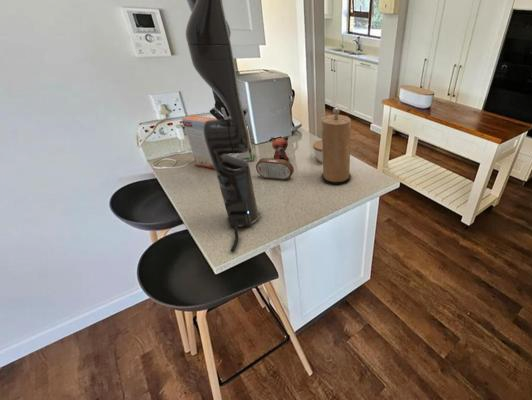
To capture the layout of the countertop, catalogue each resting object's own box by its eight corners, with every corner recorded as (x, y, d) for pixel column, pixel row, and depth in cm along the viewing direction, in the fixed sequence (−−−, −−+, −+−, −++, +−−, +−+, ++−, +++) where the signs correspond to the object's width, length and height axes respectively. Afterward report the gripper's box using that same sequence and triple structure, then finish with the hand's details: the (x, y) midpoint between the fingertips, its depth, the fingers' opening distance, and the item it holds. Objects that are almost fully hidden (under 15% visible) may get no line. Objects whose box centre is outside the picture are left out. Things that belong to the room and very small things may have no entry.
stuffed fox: (287, 153, 135) (285, 129, 128) (292, 163, 127) (289, 138, 120) (271, 155, 133) (268, 131, 126) (275, 166, 124) (271, 140, 117)
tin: (294, 177, 117) (293, 159, 112) (292, 181, 114) (290, 163, 109) (259, 174, 117) (256, 156, 113) (256, 178, 115) (253, 159, 110)
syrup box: (239, 161, 126) (232, 130, 118) (240, 156, 131) (234, 126, 122) (253, 160, 127) (247, 130, 119) (253, 155, 132) (248, 125, 124)
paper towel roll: (351, 185, 114) (353, 112, 97) (321, 185, 113) (319, 112, 96) (349, 171, 124) (351, 103, 107) (322, 171, 123) (320, 102, 106)
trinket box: (322, 167, 125) (321, 147, 120) (309, 158, 132) (308, 139, 127) (341, 161, 131) (341, 142, 126) (327, 153, 138) (327, 134, 133)
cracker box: (232, 165, 123) (221, 118, 111) (223, 171, 118) (211, 123, 106) (205, 159, 126) (192, 113, 114) (195, 165, 121) (180, 118, 109)
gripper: (198, 87, 90) (212, 138, 100) (240, 89, 92) (250, 138, 102) (206, 82, 96) (218, 130, 106) (246, 83, 98) (254, 131, 108)
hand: (234, 134), depth 104 cm, fingers closed
